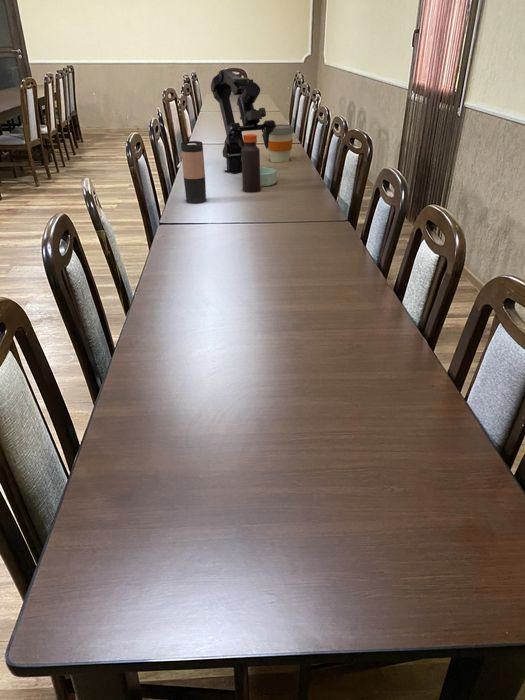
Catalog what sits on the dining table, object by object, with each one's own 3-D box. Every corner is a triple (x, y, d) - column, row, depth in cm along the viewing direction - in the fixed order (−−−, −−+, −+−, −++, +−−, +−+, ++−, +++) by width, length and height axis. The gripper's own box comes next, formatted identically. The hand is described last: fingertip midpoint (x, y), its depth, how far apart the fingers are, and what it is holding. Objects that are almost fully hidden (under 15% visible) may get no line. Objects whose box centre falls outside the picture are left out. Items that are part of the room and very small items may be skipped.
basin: (239, 184, 216) (239, 171, 214) (259, 178, 224) (259, 166, 221) (262, 188, 209) (262, 175, 207) (282, 182, 217) (282, 169, 214)
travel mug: (186, 198, 199) (181, 141, 188) (206, 197, 199) (202, 140, 189) (185, 204, 192) (179, 145, 182) (206, 203, 193) (202, 144, 182)
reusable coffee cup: (267, 157, 260) (267, 124, 253) (293, 157, 259) (294, 124, 252) (265, 163, 250) (264, 128, 242) (292, 163, 248) (292, 128, 241)
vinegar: (239, 190, 208) (237, 135, 198) (253, 187, 211) (252, 133, 201) (249, 193, 203) (247, 137, 193) (263, 190, 207) (262, 135, 196)
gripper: (229, 100, 197) (238, 141, 197) (275, 98, 203) (285, 137, 203) (222, 116, 208) (231, 155, 208) (266, 113, 214) (275, 150, 213)
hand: (256, 149), depth 208 cm, fingers open, 9 cm apart
